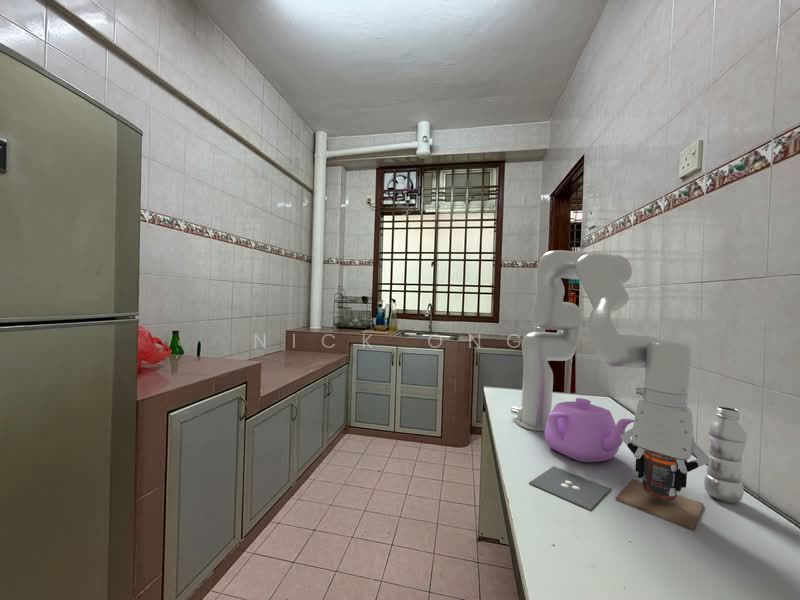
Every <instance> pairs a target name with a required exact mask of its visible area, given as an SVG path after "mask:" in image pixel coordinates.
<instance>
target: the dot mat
mask: <svg viewBox="0 0 800 600" xmlns="http://www.w3.org/2000/svg"><path fill="white" fill-rule="evenodd" d="M528 484H529V485H531V486H533V487H536V488H538V489H540V490H542V491H544V492H547V493H549V494H551V495H554V496H556V497H558V498H560V499H562V500H565V501H567V502H569V503H572V504H574V505H577V506H578V507H581V508H584V509H586V510H588V511H592V510H593V509H594V508H595V507H596V506H597V505H598V503H600V501H602V499H603V498H604V497H606V495H608V493H610V492H611V490H612V488H611V487H609V486H606V485H603V484H601V483H598V482H595V481H593V480H591V479H588V478H586V477H582V476H580V475H577V474H575V473H572V472H570V471H566V470H564V469H562V468H560V467H557V466H554V465H553V466H552V467H550V468H549V469H547V470H546V471H544V472H542V473H541V474H540V475H538V476H536V477H534V479H532V480H530V481H529V482H528Z"/></svg>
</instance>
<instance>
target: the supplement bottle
mask: <svg viewBox="0 0 800 600" xmlns="http://www.w3.org/2000/svg"><path fill="white" fill-rule="evenodd" d="M678 469H679V466H678V463H677V461H676V459H675V458H671V457H668V456H665V455H661V454H658V453H654V452H651V451H648V450H645V452H644V466H643V477H642V481H641V482H642V484H643V485H642V487H643V489H644V491H645V492H647V493H648V494H650V495H652V496H654V497H656V498H659V499H664V500H674V499H675V498H676V494H678V493H677V492H678V491H677V490H675V488H676V473H677V471H678Z"/></svg>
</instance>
